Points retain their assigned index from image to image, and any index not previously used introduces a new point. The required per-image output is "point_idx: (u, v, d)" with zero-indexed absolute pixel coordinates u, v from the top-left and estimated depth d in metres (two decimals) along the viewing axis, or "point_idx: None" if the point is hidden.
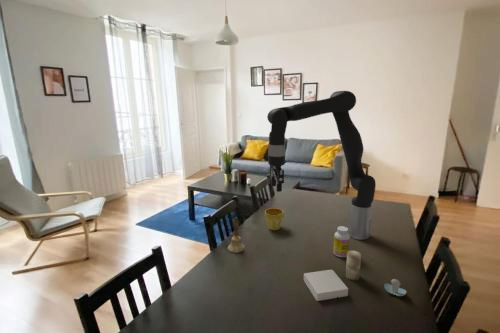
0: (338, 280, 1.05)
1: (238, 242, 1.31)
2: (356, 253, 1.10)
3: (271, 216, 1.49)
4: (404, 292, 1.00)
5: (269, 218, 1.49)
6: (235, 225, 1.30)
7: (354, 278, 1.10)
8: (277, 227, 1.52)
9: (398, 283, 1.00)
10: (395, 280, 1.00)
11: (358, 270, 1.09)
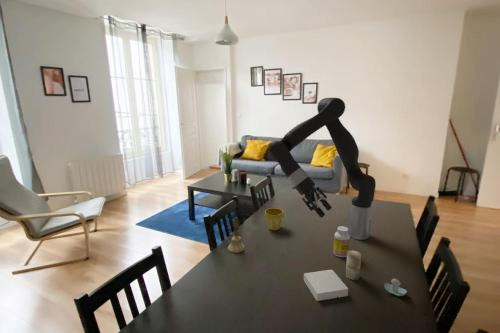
0: (338, 280, 1.05)
1: (238, 242, 1.31)
2: (356, 253, 1.10)
3: (271, 216, 1.49)
4: (404, 292, 1.00)
5: (269, 218, 1.49)
6: (235, 225, 1.30)
7: (354, 278, 1.10)
8: (277, 227, 1.52)
9: (398, 283, 1.00)
10: (395, 280, 1.00)
11: (358, 270, 1.09)
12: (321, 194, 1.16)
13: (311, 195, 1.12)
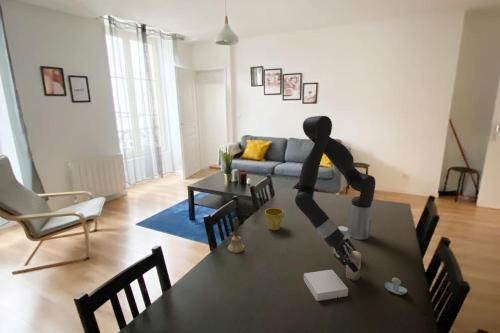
0: (338, 280, 1.05)
1: (238, 242, 1.31)
2: (357, 253, 1.10)
3: (271, 216, 1.49)
4: (405, 290, 1.01)
5: (269, 218, 1.49)
6: (235, 225, 1.30)
7: (354, 278, 1.09)
8: (277, 227, 1.52)
9: (399, 281, 1.01)
10: (396, 278, 1.01)
11: (358, 270, 1.09)
12: (350, 247, 1.13)
13: (341, 248, 1.09)
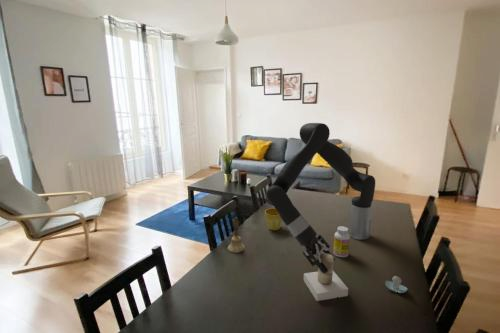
0: (338, 280, 1.05)
1: (238, 242, 1.31)
2: (329, 256, 1.03)
3: (271, 216, 1.49)
4: (405, 289, 1.02)
5: (269, 218, 1.49)
6: (235, 225, 1.30)
7: (326, 283, 1.02)
8: (277, 227, 1.52)
9: (399, 280, 1.01)
10: (396, 277, 1.02)
11: (330, 274, 1.02)
12: (323, 244, 1.06)
13: (312, 247, 1.02)
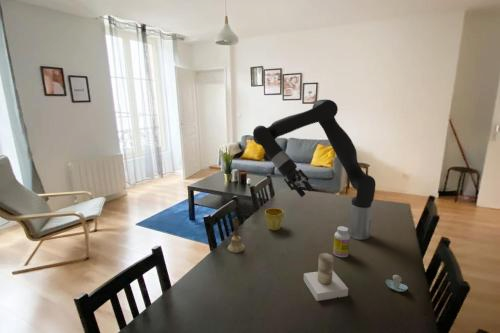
0: (338, 280, 1.05)
1: (238, 242, 1.31)
2: (329, 256, 1.03)
3: (271, 216, 1.49)
4: (405, 288, 1.02)
5: (269, 218, 1.49)
6: (235, 225, 1.30)
7: (326, 283, 1.02)
8: (277, 227, 1.52)
9: (399, 279, 1.02)
10: (396, 276, 1.03)
11: (330, 274, 1.02)
12: (303, 176, 1.22)
13: (292, 176, 1.17)
